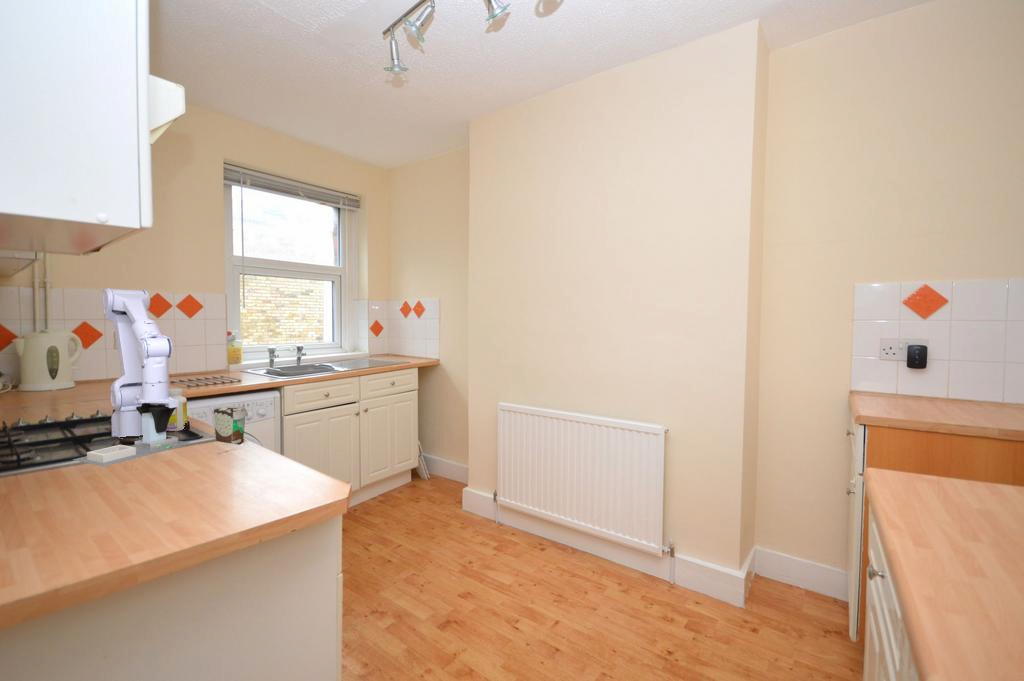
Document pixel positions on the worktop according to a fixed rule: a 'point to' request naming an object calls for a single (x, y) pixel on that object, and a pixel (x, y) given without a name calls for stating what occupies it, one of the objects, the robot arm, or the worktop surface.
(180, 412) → the supplement bottle
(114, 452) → the frame
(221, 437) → the food container
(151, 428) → the plug
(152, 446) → the port
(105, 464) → the panel
